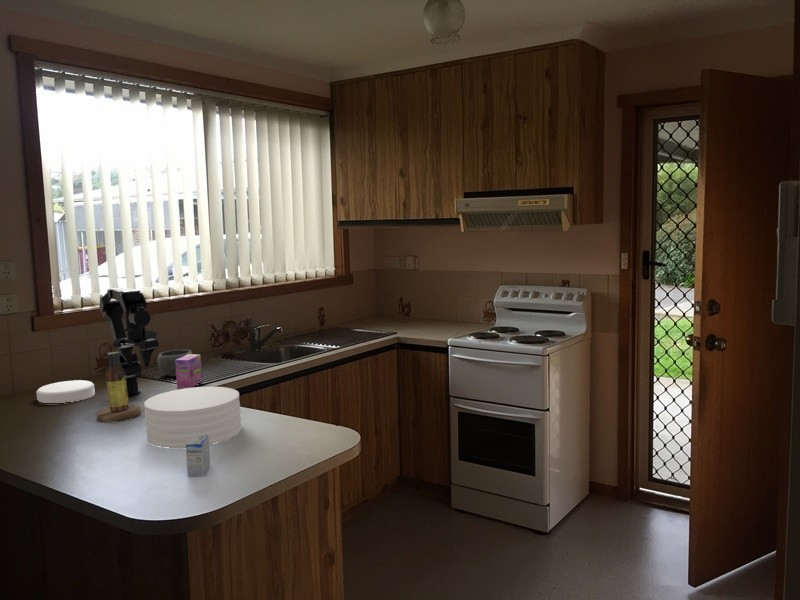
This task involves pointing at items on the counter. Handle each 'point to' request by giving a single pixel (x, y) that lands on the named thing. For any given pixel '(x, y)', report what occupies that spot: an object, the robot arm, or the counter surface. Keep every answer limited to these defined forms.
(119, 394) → the sauce bottle
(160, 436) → the plate stack
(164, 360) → the bowl
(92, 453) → the counter surface
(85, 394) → the container
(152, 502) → the counter surface
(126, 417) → the stand
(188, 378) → the box
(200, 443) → the medicine box
